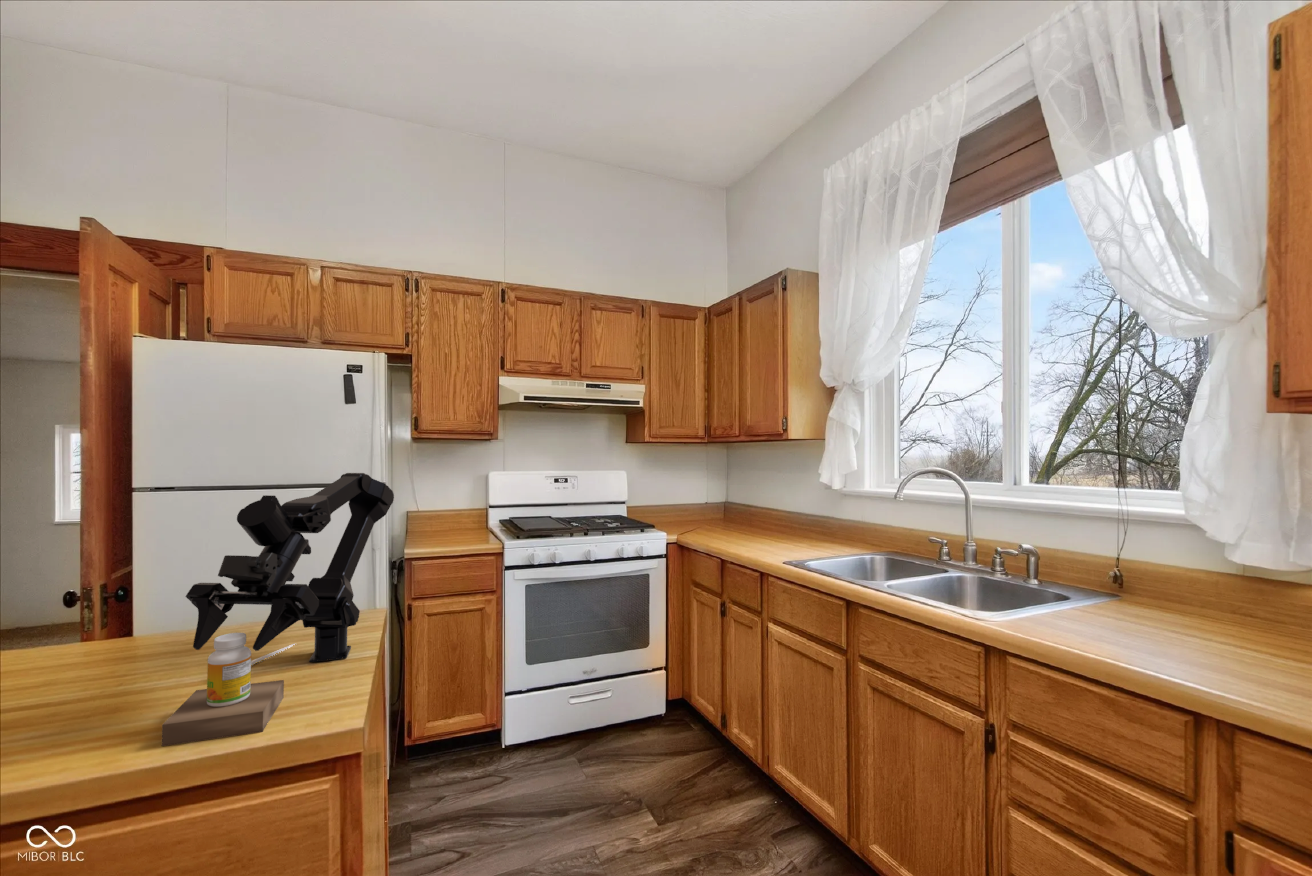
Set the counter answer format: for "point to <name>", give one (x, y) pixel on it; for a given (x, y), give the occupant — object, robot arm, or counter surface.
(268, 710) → the walnut base
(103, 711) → the counter surface
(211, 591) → the robot arm
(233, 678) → the supplement bottle
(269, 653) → the fork
